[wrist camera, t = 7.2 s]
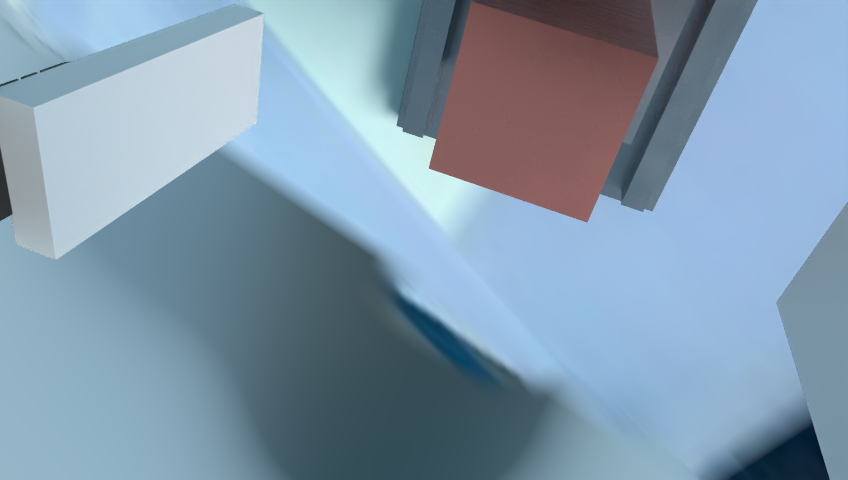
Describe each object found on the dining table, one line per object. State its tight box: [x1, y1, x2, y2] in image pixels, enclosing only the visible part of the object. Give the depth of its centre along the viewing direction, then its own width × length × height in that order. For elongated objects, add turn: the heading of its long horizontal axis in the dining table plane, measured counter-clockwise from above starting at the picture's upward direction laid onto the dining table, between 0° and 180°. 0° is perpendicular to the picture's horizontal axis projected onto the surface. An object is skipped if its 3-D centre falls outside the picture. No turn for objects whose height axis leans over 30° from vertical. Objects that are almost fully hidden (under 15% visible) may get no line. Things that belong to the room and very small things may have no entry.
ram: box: [429, 0, 695, 222], centre depth 21 cm, size 8×8×11 cm
